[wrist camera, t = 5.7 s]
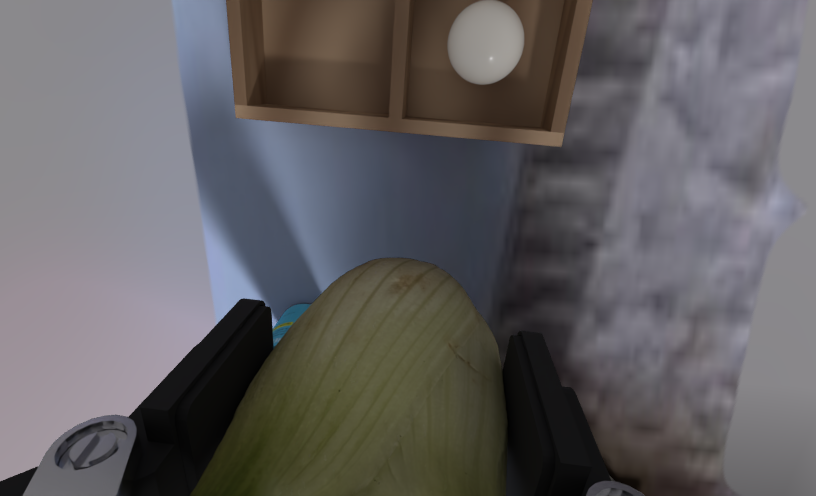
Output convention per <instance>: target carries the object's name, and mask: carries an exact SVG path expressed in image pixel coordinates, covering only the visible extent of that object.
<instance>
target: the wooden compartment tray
mask: <svg viewBox="0 0 816 496" xmlns="http://www.w3.org/2000/svg"><path fill="white" fill-rule="evenodd" d="M478 1H481V0H226V5H227V17H228V29H229V41H230V53H231V66H232V78H233V90H234V102H235V114H236V118H242V119H254V120H265V121H276V122H288V123H299V124H310V125H321V126H333V127H344V128H355V129H367V130H378V131H389V132H400V133H412V134H423V135H434V136H446V137H457V138H468V139H480V140H491V141H502V142H513V143H525V144H536V145H547V146H559V147H561V146H562V141H563V137H564V132H565V127H566V123H567V118H568V113H569V109H570V104H571V99H572V95H573V90H574V85H575V81H576V76H577V71H578V67H579V62H580V57H581V53H582V48H583V43H584V39H585V34H586V29H587V25H588V20H589V16H590V11H591V6H592V2H593V0H497V1H500V2H503V3H505V4H507V5H508V6H510V7H511V8H512V9H513V10H514V11H515V12H516V13H517V15H518V17H519V18H520V20H521V23H522V25H523V29H524V48H523V52H522V55H521V58H520V60H519V62H518V63H517V65H516V67H515V68H514V69H513V70H512V71H511V72H510V73H509V74H508V75H507V76H506V77H504V78H503V79H501V80H500V81H497V82H495V83H492V84H486V85H479V84H474V83H470V82H468V81H466V80H465V79H463V78H462V77H461V76H459V75H458V74H457V72H456V71H455V70H454V68H453V67H452V65H451V63H450V60H449V56H448V50H447V41H448V35H449V32H450V29H451V26H452V24H453V22H454V21H455V19H456V18H457V16H458V15H459V14H460V13H461V12H462V11H463V10H464V9H465V8H466V7H468V6H469V5H471V4H473V3H475V2H478Z"/></svg>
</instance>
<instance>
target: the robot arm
mask: <svg viewBox="0 0 816 496" xmlns="http://www.w3.org/2000/svg"><path fill="white" fill-rule="evenodd" d="M273 349H274V345H273V330H272V314H271V309H270V307H266V306H265V303H264V301H260V300H252V299H241V300H239V301H238V303H237V304H236V305H235V306H234V307H233V308H232V309H231V310H230V311H229V312H228V313H227V314H226V315H225V316H224V318H223V319H222V320H221V321H220V322H219V323H218V324H217V325H216V326H215V327H214V328H213V329H212V330H211V331H210V333H209V334H208V335H207V336H206V337H205V338H204V339H203V340H202V341H201V342H200V343H199V344H198V345H196V346H195V347H194V348H193V349H192V350H191V351H190V352H189V353H188V354H187V355H186V356H185V358H183V360H182V361H181V362H180V363H179V364H178V365H177V366H176V367H175V368H174V369H173V370H172V371H171V372H170V373H169V374H168V376H167V377H166V378H165V379H164V380H163V381H162V382H161V383H160V384H159V385H158V386H157V387H156V388H155V389H154V390H153V392H152V393H151V394H150V395H149V396H148V397H147V398H146V399H145V400H144V401H143V402H142V403H141V404H140V405H139V406H138V408H137V409H135V411H134V412H133V413H132V414H131V415H130V416H129V417H126V416H120V415H108V416H102V417H97V418H93V419H90V420H88V421H86V422H83V423H81V424H79V425H77V426H75V427H73V428H72V429H70V430H68V431H67V432H65V433H64V434H63V435H62V436H61V437H59V438H58V439H57V440H56V441H55V442H54V443H53V444H52V445H51V447H50V448H49V450H48V451H47V452H46V454H45V456H44V457H43V459H42V461H41V463H40V465H39V466H38V467H35V468H33V469H30V470H28V471H25V472H23V473H20V474H18V475H15V476H13V477H10V478H8V479H6V480H3V481H0V496H190V494H191V492H192V491H193V490H194V488H195V487H196V485H197V484H198V482H199V480H200V478H201V476H202V474H203V473H204V471H205V469H206V467H207V466H208V464H209V462H210V461H211V459H212V458H213V455H214V453H215V451H216V449H217V447H218V445H219V444H220V442H221V441H222V439H223V437H224V435H225V433H226V431H227V429H228V427H229V426H230V424H231V422H232V420H233V418H234V414H235V411H236V409H237V407H238V405H239V404H240V402H241V400H242V399H243V397H244V396H245V393H246V390H247V389H248V386H249V384H250V383H251V382H252V380H253V379H254V377H255V376H256V374H257V373H258V371H259V370H260V368H261V366H262V365H263V363H264V361H265V360H266V358H268V356H269V354H270V353H271V352H272V351H273ZM503 382H504V392H505V399H506V411H507V419H508V427H507V430H508V444H507V475H506V496H644V495H643V494H642V493H640V492H639V491H637V490H635V489H633V488H632V487H630V486H628V485H625V484H622V483H619V482H615V481H614V480H613V479H612V477H611V476H610V475H609V473H608V471H607V469H606V466H605V464H604V461H603V459H602V456H601V454H600V452H599V449H598V447H597V444H596V442H595V439H594V437H593V435H592V432H591V430H590V427H589V425H588V422H587V420H586V417H585V415H584V413H583V410H582V408H581V405H580V403H579V400H578V398H577V396H576V394H575V392H574V390H573V389H572V388H570V387H562V386H561V383H560V380H559V378H558V375H557V372H556V370H555V367H554V364H553V362H552V359H551V356H550V354H549V351H548V348H547V346H546V343H545V340H544V338H543V335H542V334H541V333H534V332H526V331H519V333H518V335H517V336H513V335H512V336H511V337H510V340H509V345H508V349H507V354H506V359H505V363H504V368H503Z"/></svg>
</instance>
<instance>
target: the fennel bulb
mask: <svg viewBox="0 0 816 496" xmlns="http://www.w3.org/2000/svg"><path fill="white" fill-rule="evenodd" d="M507 427H508V419H507V411H506V399H505V392H504V382H503V372H502V366H501V360H500V356H499V350H498V345H497V343H496V340H495V337H494V336H493V333H492V332H491V330H490V328H489V327H488V325H487V323H486V322H485V320H484V319H483V317H482V316H481V315H480V313H479V312H478V311H477V310H476V308H475V307H474V305H473V304H472V302H471V300H470V298H469V297H468V295H467V293H466V292H465V290H464V289H463V288H462V286H461V285H460V284H459V283H458V282H457V281H456V280H455V279H454V278H453V277H452V276H451V275H450V274H448V273H447V272H445V271H444V270H442V269H440V268H439V267H437V266H436V265H434V264H431V263H427V262H421V261H418V260H414V259H409V258H380V259H375V260H371V261H368V262H367V263H365V264H362V265H360V266H358V267H356V268H354V269H352V270H350V271H348V272H347V273H345V274H344V275H342V276H341V277H339V278H338V279H337V280H336V281H334V282H333V283H332V284H331V285H330V286H329V287H328V288H327V289H326V290H325V291H324V292H323V293H322V294H321V295H320V296H319V297H318V298H317V299H316V300H315V301H314V302H313V303H312V304H311V305H310V306H309V307H308V309H307V310H306V311H305V312H304V313H303V314H302V315H301V316H300V317H299V318H298V319H297V320H296V321H295V322H294V323H293V324H292V326H291V327H290V328H289V329H288V331H287V332H286V333H285V335H284V336H283V337H282V338H281V340H280V341H279V342H278V343H277V345H276V346H275V348H274V349H273V351H272V352H271V353H270V354H269V356H268V358H266V360H265V361H264V363H263V365H262V366H261V368H260V370H259V371H258V373H257V374H256V376H255V377H254V379H253V380H252V382H251V383H250V384H249V386H248V389H247V390H246V393H245V396H244V397H243V399H242V400H241V402H240V404H239V405H238V407H237V409H236V411H235V414H234V418H233V420H232V422H231V424H230V426H229V427H228V429H227V431H226V433H225V435H224V437H223V439H222V441H221V442H220V444H219V445H218V447H217V449H216V451H215V453H214V455H213V458H212V459H211V461H210V462H209V464H208V466H207V467H206V469H205V471H204V473H203V474H202V476H201V478H200V480H199V482H198V484H197V485H196V487H195V488H194V490H193V491H192V492H191V494H190V496H506V475H507V444H508V430H507Z"/></svg>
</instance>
